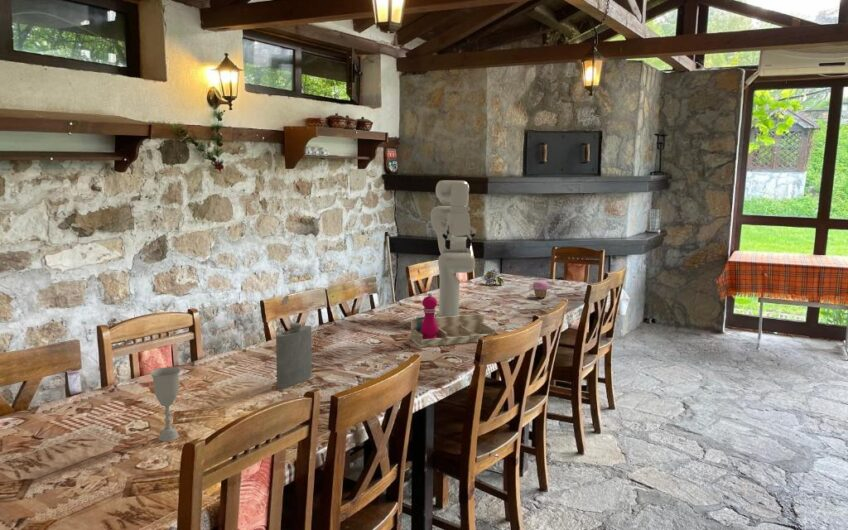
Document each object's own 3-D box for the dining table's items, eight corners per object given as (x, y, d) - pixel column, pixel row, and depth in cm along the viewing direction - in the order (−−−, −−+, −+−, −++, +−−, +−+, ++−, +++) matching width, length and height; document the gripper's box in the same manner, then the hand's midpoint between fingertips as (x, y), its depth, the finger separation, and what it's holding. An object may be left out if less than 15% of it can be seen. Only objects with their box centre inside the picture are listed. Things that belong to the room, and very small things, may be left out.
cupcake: (550, 297, 359) (551, 279, 357) (544, 299, 351) (545, 282, 350) (535, 295, 363) (536, 278, 362) (529, 297, 356) (530, 280, 355)
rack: (420, 347, 255) (421, 324, 253) (410, 339, 266) (411, 317, 264) (494, 340, 267) (495, 318, 265) (482, 333, 278) (482, 312, 276)
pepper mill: (435, 343, 258) (436, 295, 255) (418, 341, 259) (419, 293, 256) (439, 338, 265) (440, 291, 262) (422, 337, 266) (423, 290, 263)
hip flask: (306, 374, 219) (305, 318, 216) (315, 376, 217) (315, 319, 214) (274, 387, 205) (273, 327, 202) (284, 390, 203) (283, 329, 200)
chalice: (173, 429, 172) (170, 365, 169) (188, 435, 168) (185, 370, 165) (148, 438, 166) (144, 372, 163) (163, 445, 162) (160, 377, 159)
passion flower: (488, 293, 394) (478, 277, 395) (496, 288, 402) (486, 272, 403) (501, 285, 387) (490, 269, 388) (509, 280, 395) (498, 264, 396)
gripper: (473, 209, 283) (472, 247, 286) (437, 209, 277) (436, 248, 280) (480, 210, 276) (479, 249, 279) (444, 210, 270) (443, 250, 273)
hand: (458, 248), depth 279 cm, fingers open, 9 cm apart
